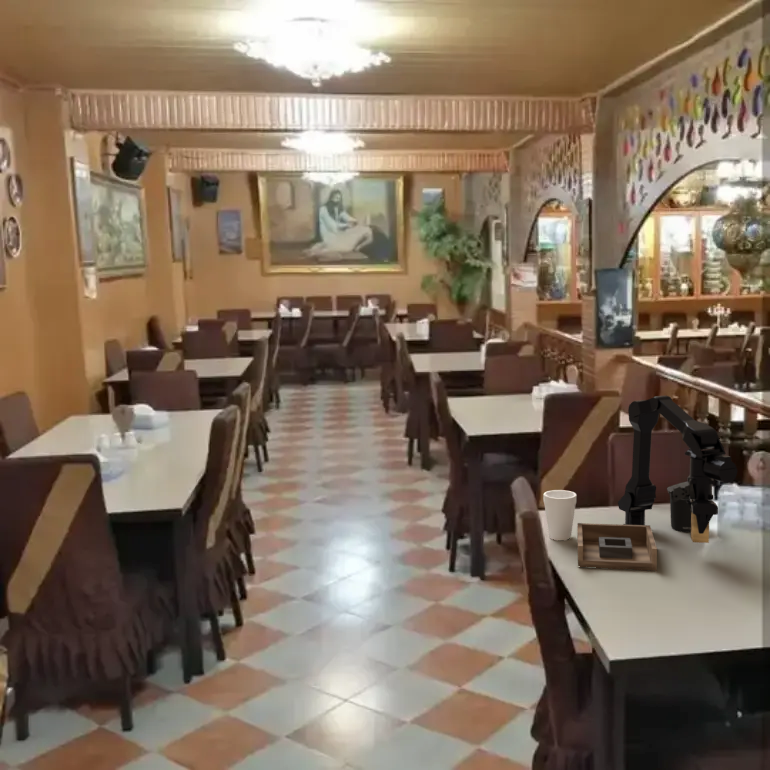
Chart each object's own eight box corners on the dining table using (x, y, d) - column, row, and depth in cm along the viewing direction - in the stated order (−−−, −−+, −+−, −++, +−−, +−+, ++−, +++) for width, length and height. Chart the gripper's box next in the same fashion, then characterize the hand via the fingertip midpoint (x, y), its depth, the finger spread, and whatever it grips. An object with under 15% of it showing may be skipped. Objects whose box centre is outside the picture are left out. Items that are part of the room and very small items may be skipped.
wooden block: (690, 537, 240) (691, 509, 239) (706, 538, 240) (707, 509, 238) (692, 542, 237) (693, 513, 235) (708, 542, 236) (709, 513, 235)
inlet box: (577, 543, 254) (577, 523, 253) (649, 545, 250) (650, 525, 249) (578, 567, 235) (578, 545, 234) (656, 570, 231) (656, 548, 230)
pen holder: (663, 528, 266) (664, 496, 264) (679, 521, 272) (680, 489, 270) (692, 535, 259) (693, 502, 257) (708, 527, 265) (709, 495, 263)
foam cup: (573, 543, 254) (574, 499, 252) (541, 541, 257) (541, 497, 255) (577, 533, 263) (578, 491, 261) (546, 531, 266) (546, 489, 264)
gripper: (665, 465, 246) (664, 519, 248) (673, 482, 228) (672, 540, 230) (708, 466, 244) (706, 521, 246) (719, 483, 226) (717, 542, 228)
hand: (699, 530), depth 238 cm, fingers closed on wooden block, 4 cm apart
